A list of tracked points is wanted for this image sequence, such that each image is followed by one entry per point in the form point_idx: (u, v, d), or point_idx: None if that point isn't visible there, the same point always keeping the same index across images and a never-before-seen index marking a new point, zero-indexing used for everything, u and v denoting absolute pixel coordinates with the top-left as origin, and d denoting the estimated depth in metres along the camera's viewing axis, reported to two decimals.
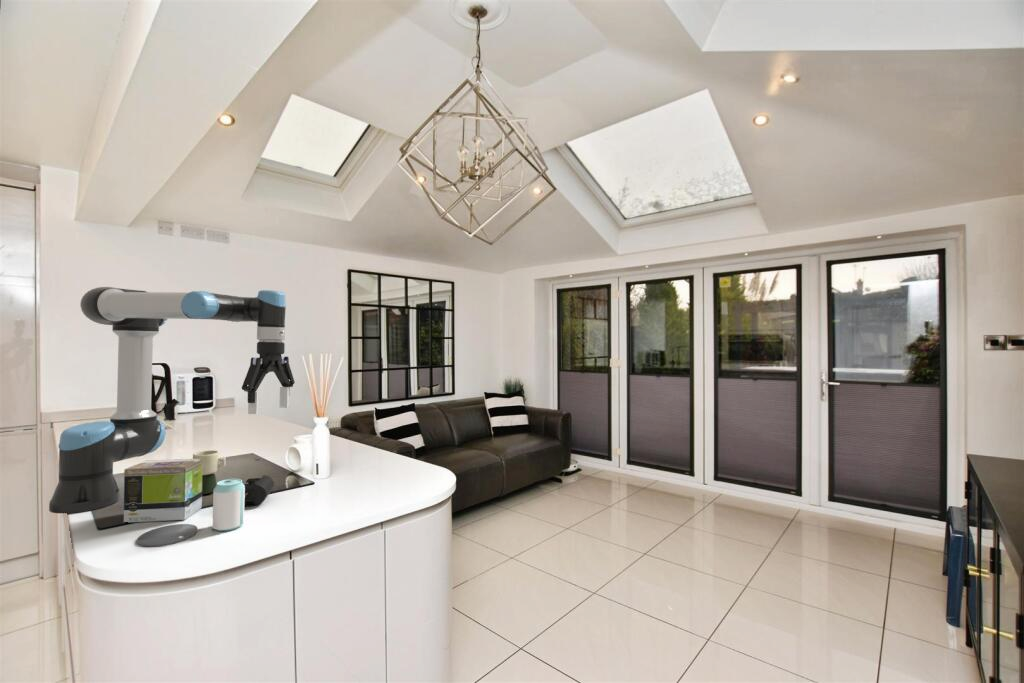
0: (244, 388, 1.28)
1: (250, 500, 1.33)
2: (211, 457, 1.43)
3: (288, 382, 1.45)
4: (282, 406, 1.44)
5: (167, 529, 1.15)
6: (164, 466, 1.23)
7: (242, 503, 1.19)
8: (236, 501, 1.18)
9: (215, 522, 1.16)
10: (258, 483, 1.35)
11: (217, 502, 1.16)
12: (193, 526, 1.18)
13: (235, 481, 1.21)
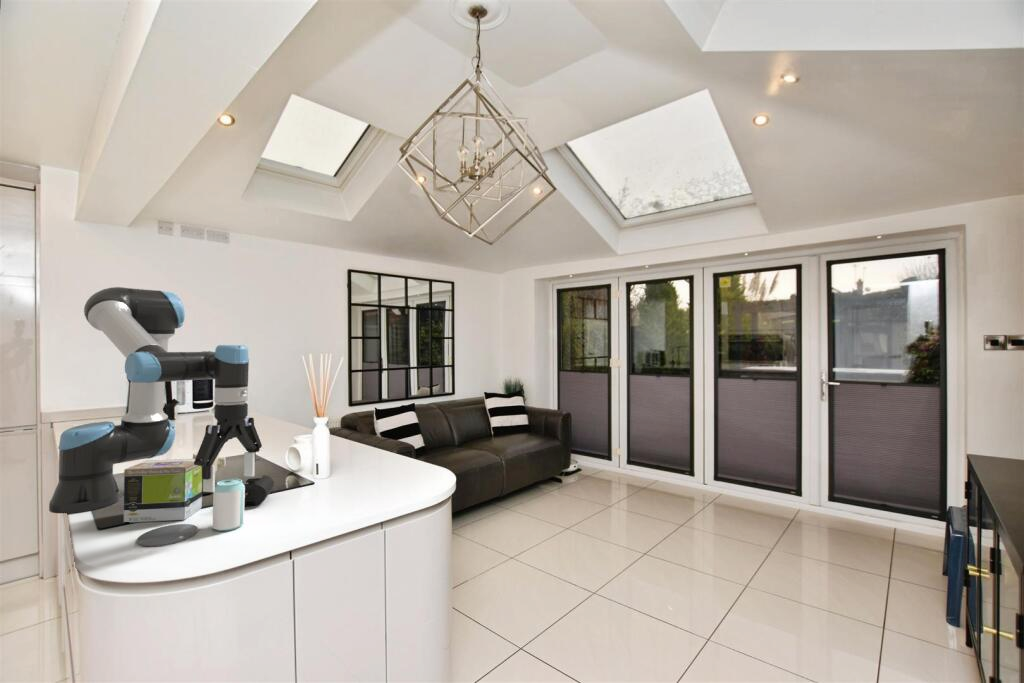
0: (197, 463, 1.09)
1: (250, 500, 1.33)
2: None
3: (254, 447, 1.26)
4: (247, 475, 1.26)
5: (167, 529, 1.15)
6: (164, 466, 1.23)
7: (242, 503, 1.19)
8: (236, 501, 1.18)
9: (215, 522, 1.16)
10: (258, 483, 1.35)
11: (217, 502, 1.16)
12: (193, 526, 1.18)
13: (235, 481, 1.21)
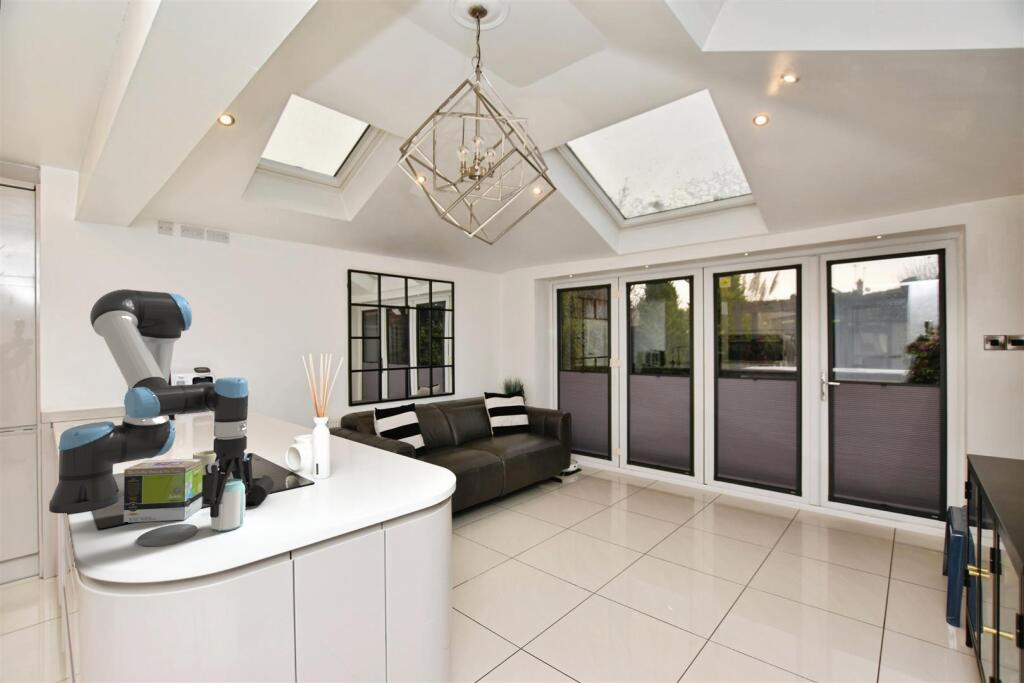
0: (205, 503, 1.12)
1: (250, 500, 1.33)
2: (211, 457, 1.43)
3: (245, 486, 1.23)
4: None
5: (167, 529, 1.15)
6: (164, 466, 1.23)
7: (242, 503, 1.19)
8: (236, 501, 1.18)
9: None
10: (258, 483, 1.35)
11: None
12: (193, 526, 1.18)
13: (235, 481, 1.21)
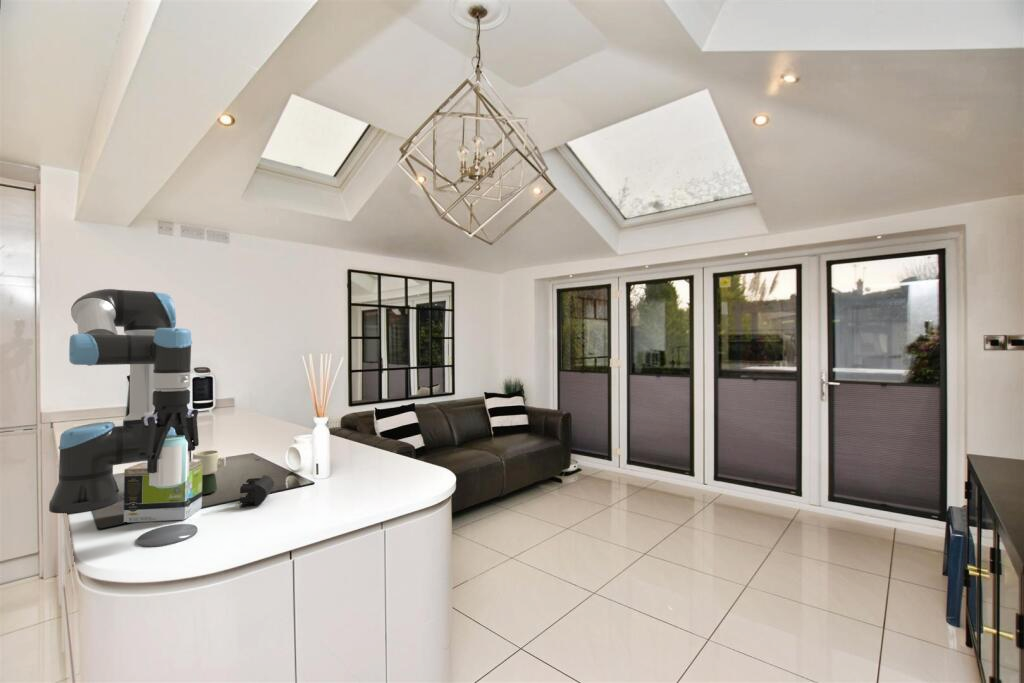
0: (141, 456, 1.06)
1: (250, 500, 1.33)
2: (211, 457, 1.43)
3: (189, 444, 1.17)
4: None
5: (167, 529, 1.15)
6: None
7: (184, 460, 1.13)
8: (177, 457, 1.11)
9: None
10: (258, 483, 1.35)
11: None
12: (193, 526, 1.18)
13: (177, 437, 1.14)
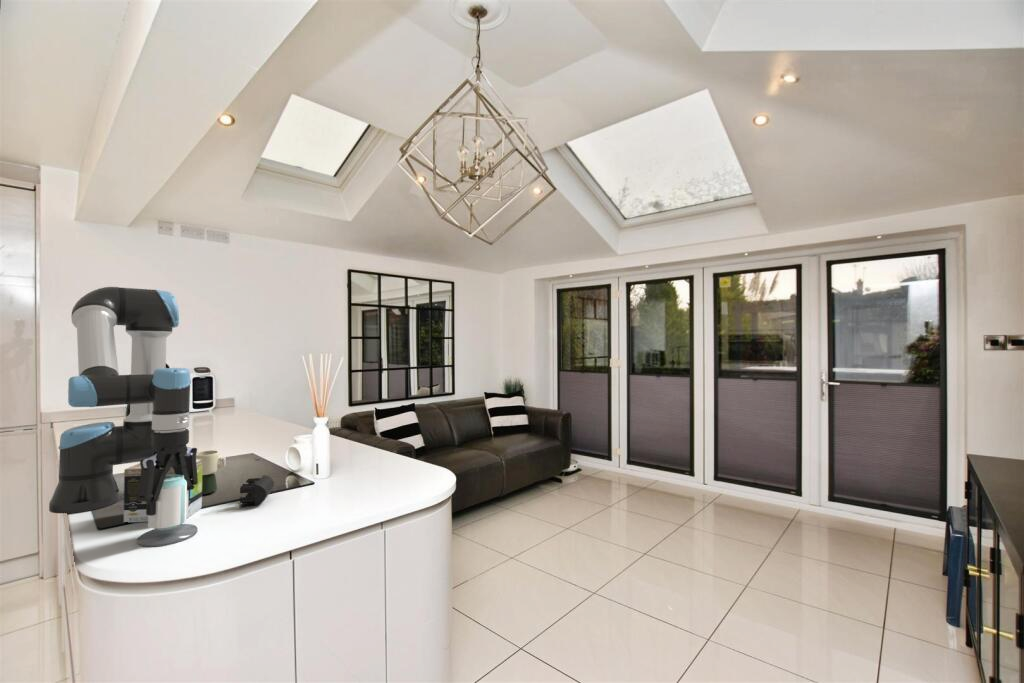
0: (140, 499, 1.06)
1: (250, 500, 1.33)
2: (211, 457, 1.43)
3: (188, 483, 1.17)
4: None
5: (167, 529, 1.15)
6: None
7: (183, 500, 1.13)
8: (176, 498, 1.11)
9: None
10: (258, 483, 1.35)
11: None
12: (193, 526, 1.18)
13: (176, 477, 1.14)
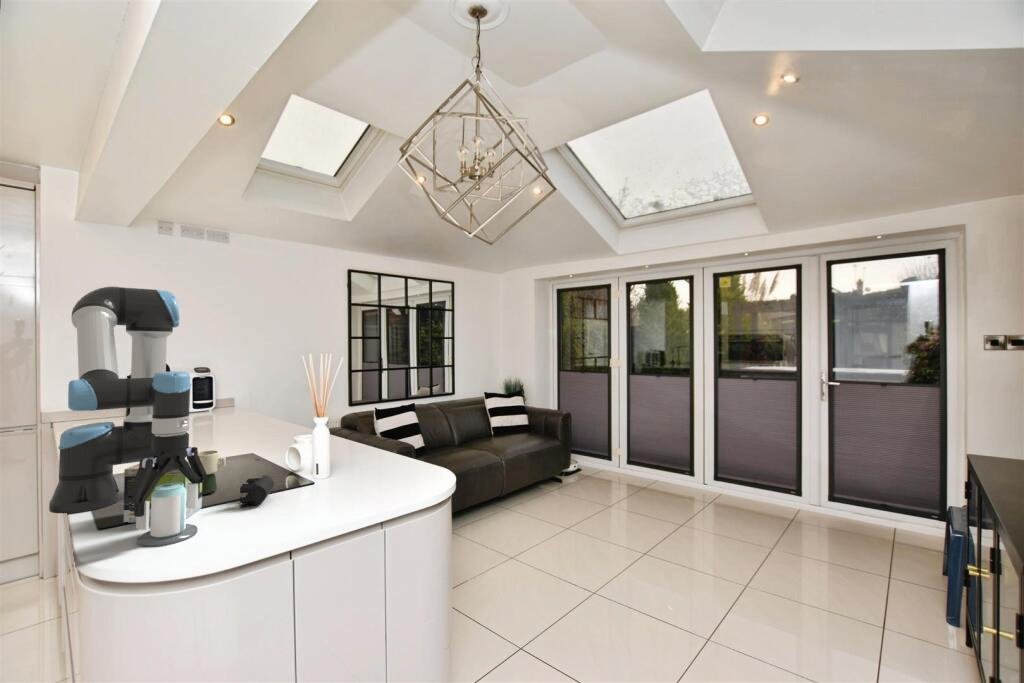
0: (128, 500, 1.03)
1: (250, 500, 1.33)
2: (211, 457, 1.43)
3: (197, 478, 1.20)
4: (189, 507, 1.19)
5: None
6: None
7: (183, 508, 1.13)
8: (175, 507, 1.11)
9: (152, 529, 1.10)
10: (258, 483, 1.35)
11: (154, 507, 1.10)
12: (193, 526, 1.18)
13: (176, 485, 1.14)
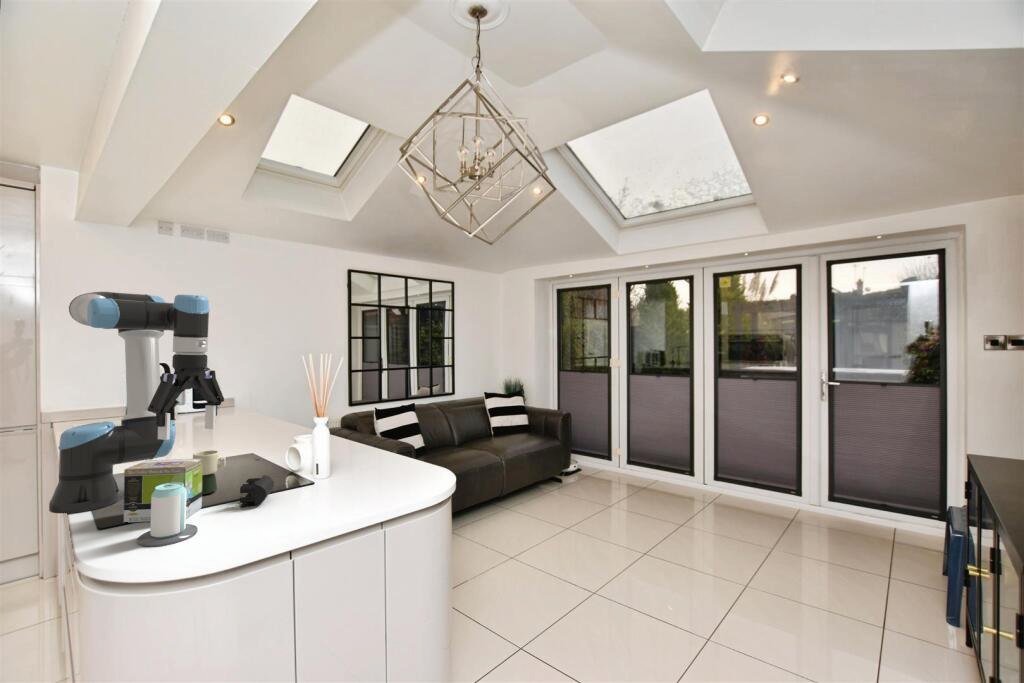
0: (150, 410, 1.09)
1: (250, 500, 1.33)
2: (211, 457, 1.43)
3: (215, 400, 1.26)
4: (208, 427, 1.25)
5: None
6: (164, 466, 1.23)
7: (183, 508, 1.13)
8: (175, 507, 1.11)
9: (152, 529, 1.10)
10: (258, 483, 1.35)
11: (154, 507, 1.10)
12: (193, 526, 1.18)
13: (176, 485, 1.14)
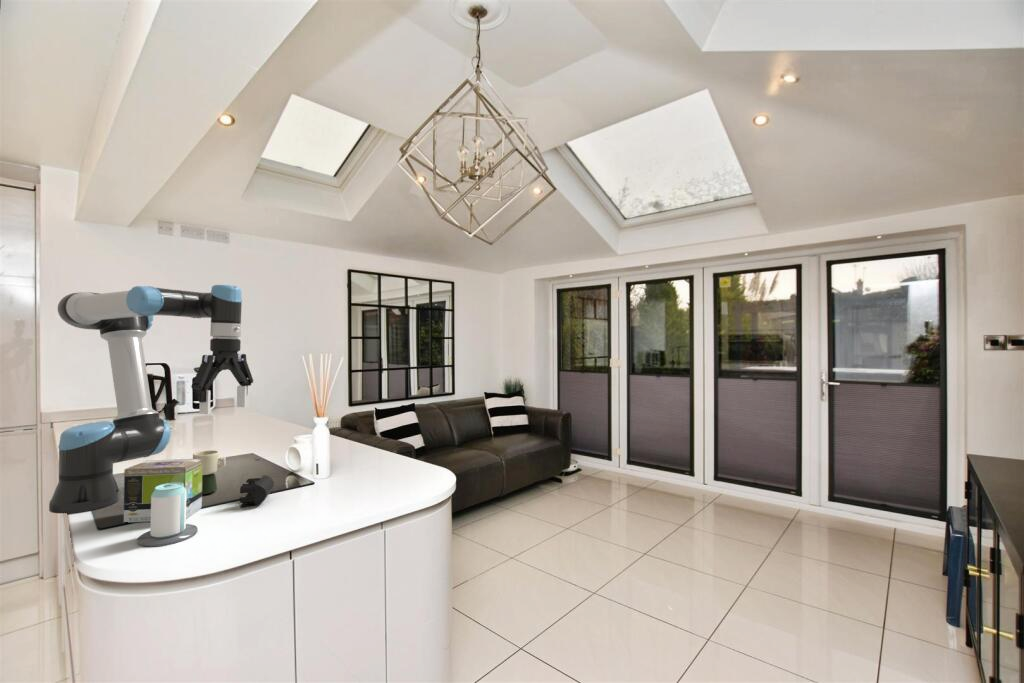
0: (194, 387, 1.22)
1: (250, 500, 1.33)
2: (211, 457, 1.43)
3: (246, 381, 1.39)
4: (239, 406, 1.39)
5: None
6: (164, 466, 1.23)
7: (183, 508, 1.13)
8: (175, 506, 1.11)
9: (152, 529, 1.10)
10: (258, 483, 1.35)
11: (154, 507, 1.10)
12: (193, 526, 1.18)
13: (176, 485, 1.14)
